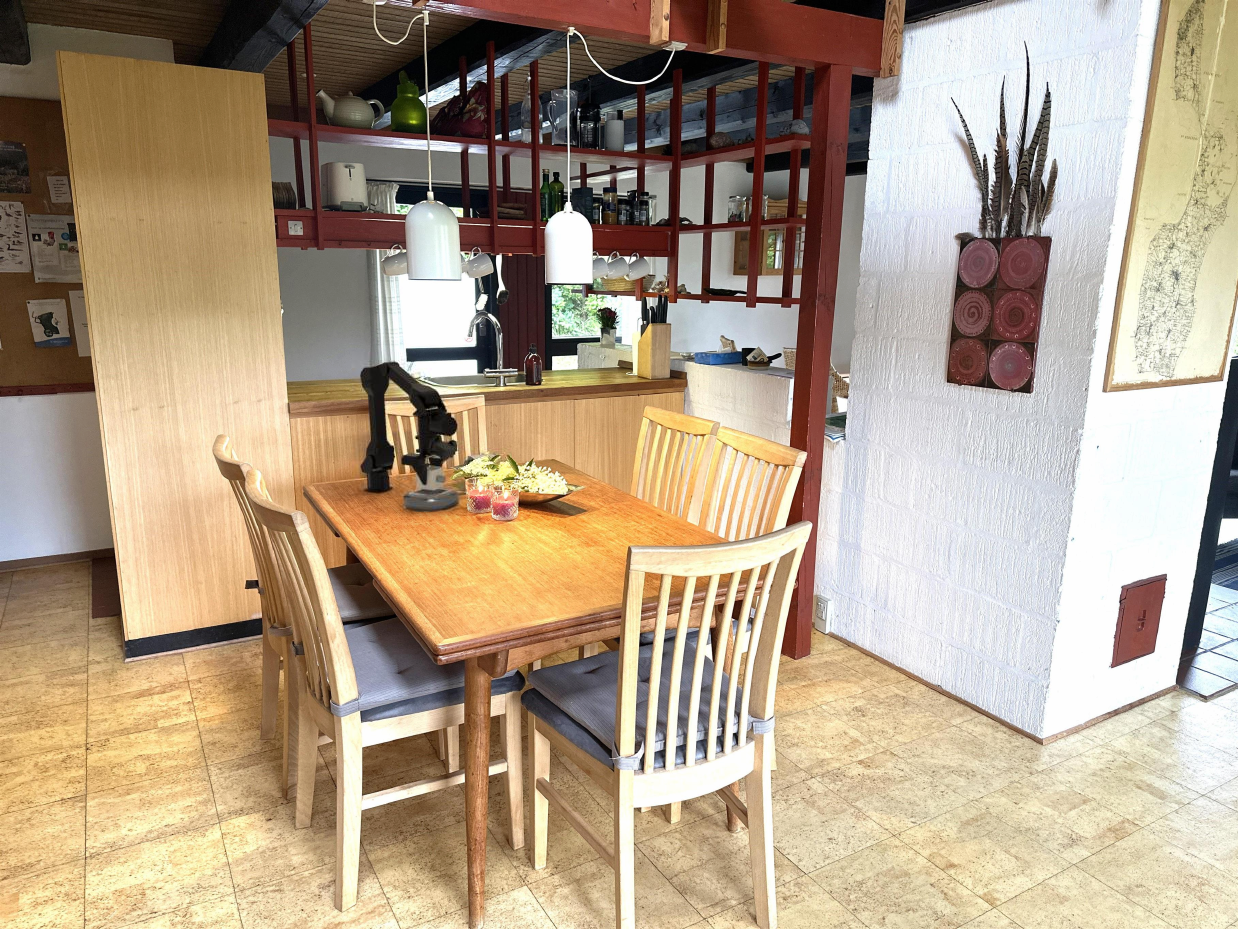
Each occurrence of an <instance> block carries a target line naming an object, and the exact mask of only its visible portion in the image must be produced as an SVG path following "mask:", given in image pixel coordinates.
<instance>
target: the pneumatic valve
mask: <svg viewBox="0 0 1238 929" xmlns="http://www.w3.org/2000/svg"><path fill="white" fill-rule="evenodd" d="M487 455H488V456H490V457H492V456H498V454H496V453H494V452H493V453H485V452H481V454H476V455H473V454H472V455H467V458H466V460H464V461H463V467H464V466H466V465H468V464H469V463H470V462H472V461H473V460H475V459H478V458H481V457H484V456H487Z"/></svg>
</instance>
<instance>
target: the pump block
mask: <svg viewBox="0 0 1238 929" xmlns="http://www.w3.org/2000/svg"><path fill="white" fill-rule="evenodd" d="M446 481H447V479H446V476H445V475H444V467H443V466H442V467H437V466H430V465H429V467H428V468H427V483H426V485H423V484H422V482H421V481H420V479H419V477H418V475H417V474H416V487H417V489H428V490H436V489H438V488H445V482H446Z"/></svg>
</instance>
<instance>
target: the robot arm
mask: <svg viewBox="0 0 1238 929" xmlns="http://www.w3.org/2000/svg"><path fill="white" fill-rule="evenodd" d="M359 377H360V382H361V383H360V384H361V387H362V389H363V390H364V391H365V393H366V394H367V400H368V414H369V415H368V416H369V419H368V420H369V429H370V430H369V432H370V442H369V443H368V445H367V447H366V450H365V451H366V452H365V459H364V460H363V462H361V464H360V470H361V472H362V473H364V474H366V483H367V484H366V485H367V487H366V488H365V487H364V488H363V490H364V491H367V492H370V493H371V492H372V493H379V494H380V493H382V492H385V491H388V489H389V490H391V489H393V486H390V484H391V483H390V476H389V471H391V470H392V471H393V468H394V463H395V458H396V455H395V446H394V445H392V444H391V443H390V442H389V441H388V432H387V417H386V398H385V397H386V396H385V394H386V393H387V391H388V388H389V386H390V381H392V383H394V384H395V385H397V386H396V387H398V388H399V389H401V390H402V391H403V392H405V394H406V395H407V396H408V399H409V402H410V404H412V406H413V407H414V408H415V409H416V410H415V411H413V413H412V416H414V417H417V420H416V421H417V434H416V435H414V436H415V437H414V438H415V440H418V448H417V449H415V453H414V452H409V453H406V454H403V455H402V456H401V458H400V459H401V461H400V462H401V466H409V467H411V468H412V469H413V470H414V472H415V474H416V476H417V475H418V477H419V479H420V481H421V482H422V484H423V485H426V483H427V468H428V467H429V465H430V466H437V467H443V465H444V463H445V462H446V461H447V460H449V459H452V458H454V456H455V455H456V452H458V442H457V440H455V439H451V440H449V441H444V440H443V438H442V437H443V436H445V437H452V436H454V435H455V434H456V432H457V430H458V423H457V420H456V419H455V417H453V416H452V412H449V411H448V409H447V407H446V405H445V403H444V402H443V399H442V397H441V396H440V392H438V390H437V389H435V388H433V387H431V386H430V385H426V384H422V383H421V382H419V381H418V380H417V379H416V378H414V377H413V376H412V375H411V374H409V373H408V372H407V371H406V370H405V369H404V368H403V367H401V365H400V363H399V362H398V361H385V362H382V363H379V365H378V364H377V365H375V366H365V367H364V368H362V370H361V371H360V376H359ZM428 462H429V463H428Z"/></svg>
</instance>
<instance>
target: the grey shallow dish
mask: <svg viewBox="0 0 1238 929" xmlns="http://www.w3.org/2000/svg"><path fill="white" fill-rule="evenodd" d="M403 504H404V505H403V506H405V507H406V508H405V507H404V508H405V509H407V508H408V509H407V510H409V509H411V510H410V511H413V510H416V511H415V512H423V511H429V512H440V511H439V510H441V511H445V510H450V509H452V508H455V507H457V506H458V505H459V493H458V491H457V490H455V489H452V488H445V487H441V488H438V489H436V490H428V489H421V488H417V489H414V490H411V491H410V490H409V491H407V492H406V493H404V494H403Z"/></svg>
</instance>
